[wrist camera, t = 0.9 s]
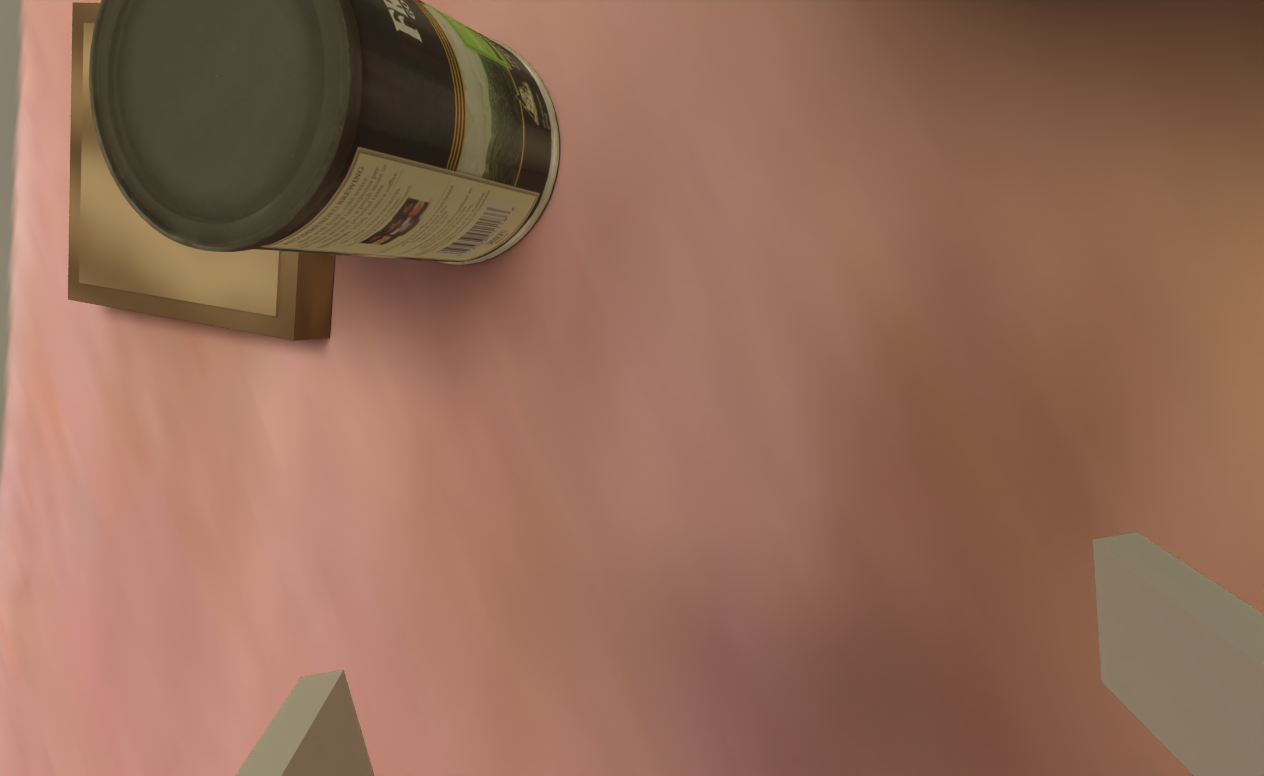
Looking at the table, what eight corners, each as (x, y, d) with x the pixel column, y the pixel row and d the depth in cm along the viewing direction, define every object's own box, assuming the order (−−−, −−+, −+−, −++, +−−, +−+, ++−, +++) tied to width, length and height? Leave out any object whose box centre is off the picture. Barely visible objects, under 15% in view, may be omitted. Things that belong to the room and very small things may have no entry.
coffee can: (417, -2, 38) (142, -159, 25) (600, 95, 36) (401, -22, 22) (335, 203, 41) (48, 159, 28) (499, 306, 38) (270, 312, 25)
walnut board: (118, 18, 44) (69, 1, 42) (349, 23, 40) (310, 5, 37) (111, 299, 47) (65, 299, 44) (329, 337, 42) (291, 340, 39)
